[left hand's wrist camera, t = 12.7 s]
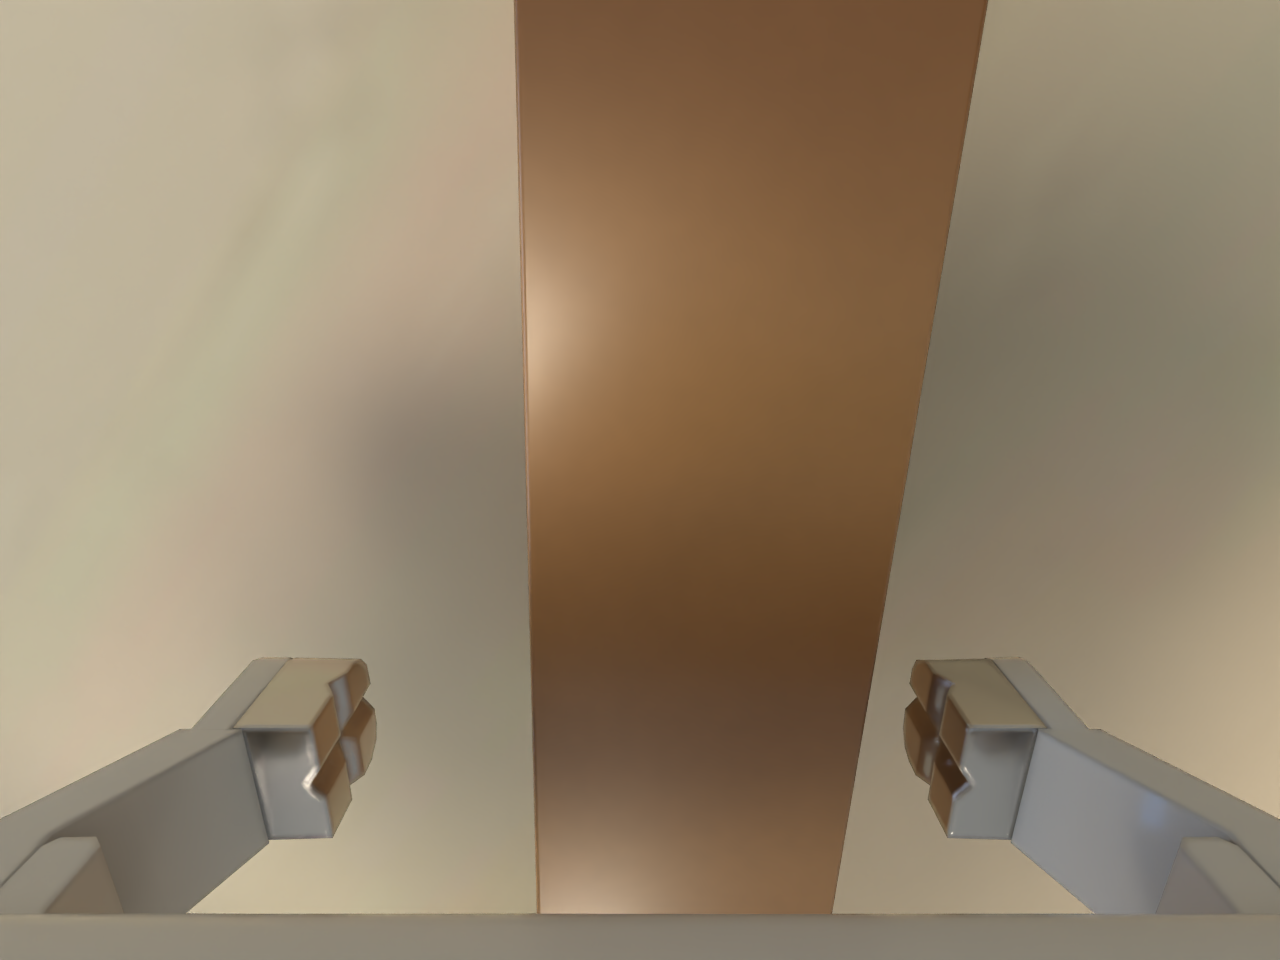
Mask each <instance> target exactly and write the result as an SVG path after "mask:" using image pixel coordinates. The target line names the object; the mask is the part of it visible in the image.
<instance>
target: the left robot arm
mask: <svg viewBox="0 0 1280 960" xmlns="http://www.w3.org/2000/svg"><path fill="white" fill-rule="evenodd" d="M370 684H371V683H370V678H369V673H368V668H367V664H366V663H364V662H363V661H362V660H361V659H338V658H291V657H274V658H259V659H256V660H253V661H252V662H251V663H250V664H249V665H248V666H247V668H246V669H245V670H244V671H243V672H242V673H241V674H240V675H239V676H238V678H237V679H236V680H235V681H234V682H233V683H232V684H231V685H230V686H229V688H228V689H227V690H226V691H225V692H224V693H223V694H222V695H221V696H220V698H219V699H218V700H217V701H216V702H215V703H214V704H213V705H212V706H211V708H210V709H209V710H208V711H207V712H206V713H205V714H204V715H203V716H202V718H201V719H200V720H199V721H198V722H197V723H196V724H195V725H194V726H193V728H192V729H179V730H177V731H175V732H173V733H171V734H169V735H167V736H165V737H163V738H161V739H159V740H157V741H155V742H153V743H151V744H149V745H147V746H145V747H143V748H141V749H139V750H137V751H135V752H133V753H131V754H129V755H127V756H125V757H123V758H121V759H119V760H117V761H115V762H113V763H111V764H109V765H107V766H105V767H103V768H101V769H99V770H97V771H95V772H93V773H91V774H89V775H87V776H85V777H83V778H81V779H79V780H77V781H75V782H73V783H71V784H69V785H67V786H65V787H63V788H61V789H59V790H57V791H55V792H53V793H51V794H49V795H47V796H45V797H43V798H41V799H39V800H37V801H35V802H33V803H31V804H29V805H27V806H25V807H23V808H21V809H19V810H17V811H15V812H13V813H11V814H9V815H7V816H5V817H3V818H1V819H0V960H1280V819H1278V818H1276V817H1274V816H1272V815H1270V814H1268V813H1266V812H1264V811H1262V810H1260V809H1258V808H1256V807H1254V806H1252V805H1250V804H1248V803H1246V802H1244V801H1242V800H1240V799H1238V798H1236V797H1234V796H1232V795H1230V794H1228V793H1226V792H1224V791H1222V790H1220V789H1218V788H1216V787H1214V786H1212V785H1210V784H1208V783H1206V782H1204V781H1202V780H1200V779H1198V778H1196V777H1194V776H1192V775H1190V774H1188V773H1186V772H1184V771H1182V770H1180V769H1178V768H1176V767H1174V766H1172V765H1170V764H1168V763H1166V762H1164V761H1162V760H1160V759H1158V758H1156V757H1155V756H1153V755H1151V754H1149V753H1147V752H1145V751H1143V750H1141V749H1139V748H1137V747H1135V746H1133V745H1131V744H1129V743H1127V742H1125V741H1123V740H1121V739H1119V738H1117V737H1115V736H1113V735H1111V734H1109V733H1107V732H1105V731H1103V730H1101V729H1088V728H1087V726H1086V725H1085V724H1084V723H1083V722H1082V721H1081V720H1080V719H1079V718H1078V716H1077V715H1076V714H1075V713H1074V712H1073V711H1072V710H1071V709H1070V708H1069V706H1068V705H1067V704H1066V703H1065V702H1064V701H1063V700H1062V699H1061V698H1060V696H1059V695H1058V694H1057V693H1056V692H1055V691H1054V690H1053V689H1052V688H1051V686H1050V685H1049V684H1048V683H1047V682H1046V681H1045V680H1044V679H1043V678H1042V676H1041V675H1040V674H1039V673H1038V672H1037V671H1036V670H1035V669H1034V668H1033V666H1032V665H1031V664H1030V663H1029V662H1028V661H1026V660H1024V659H1022V658H1020V657H1004V658H985V659H942V660H916V662H915V664H914V666H913V668H912V672H911V678H910V683H909V684H910V685H911V687H912V689H913V691H914V692H915V694H916V696H917V697H916V698H915V700H914V701H913V702H912V703H911V704H910V705H909V706H908V707H907V708H906V709H905V716H904V725H903V732H904V743H905V749H906V753H907V756H908V759H909V762H910V764H911V766H912V768H913V771H914V773H915V775H916V776H918V777H919V778H921V779H922V780H923V781H925V782H926V783H928V784H929V785H930V789H929V795H928V801H929V803H930V805H931V807H932V808H933V810H934V812H935V814H936V816H937V818H938V820H939V822H940V824H941V826H942V828H943V830H944V832H945V834H946V836H947V838H969V839H1004V840H1011V843H1012V844H1013V845H1014V846H1015V847H1017V848H1018V849H1019V850H1020V851H1021V852H1022V853H1024V854H1025V855H1026V856H1027V857H1028V858H1030V859H1031V860H1032V861H1033V862H1034V863H1036V864H1037V865H1038V866H1039V867H1040V868H1041V869H1043V870H1044V871H1045V872H1046V873H1047V874H1049V875H1050V876H1051V877H1052V878H1053V879H1054V880H1056V881H1057V882H1058V883H1059V884H1060V885H1062V886H1063V887H1064V888H1065V889H1066V890H1068V891H1069V892H1070V893H1071V894H1072V895H1073V896H1075V897H1076V898H1077V899H1078V900H1079V901H1081V902H1082V903H1083V904H1084V905H1085V906H1087V907H1088V908H1089V909H1090V910H1091V911H1092V912H1094V913H1095V914H185V913H187V912H188V911H189V910H190V909H191V908H192V907H194V906H195V905H196V904H197V903H198V902H200V901H201V900H202V899H203V898H204V897H206V896H207V895H208V894H209V893H210V892H211V891H213V890H214V889H215V888H216V887H217V886H219V885H220V884H221V883H222V882H223V881H225V880H226V879H227V878H228V877H229V876H230V875H232V874H233V873H234V872H235V871H236V870H238V869H239V868H240V867H241V866H242V865H244V864H245V863H246V862H247V861H248V860H250V859H251V858H252V857H253V856H254V855H255V854H257V853H258V852H259V851H260V850H261V849H263V848H264V847H265V846H266V845H267V844H269V840H276V839H310V838H333V836H334V834H335V832H336V830H337V828H338V826H339V824H340V822H341V820H342V818H343V816H344V814H345V812H346V810H347V808H348V806H349V805H350V803H351V801H352V795H351V789H350V785H351V784H352V783H354V782H355V781H357V780H358V779H359V778H361V777H362V776H364V775H365V773H366V770H367V768H368V766H369V764H370V762H371V760H372V756H373V752H374V747H375V743H376V729H377V722H376V715H375V709H374V708H373V707H372V706H371V705H370V704H369V703H368V702H367V701H366V700H365V699H364V697H363V696H364V694H365V692H366V691H367V689H368V687H369V685H370Z"/></svg>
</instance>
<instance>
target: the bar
mask: <svg viewBox="0 0 1280 960" xmlns="http://www.w3.org/2000/svg"><path fill="white" fill-rule="evenodd" d="M987 4H988V0H514V24H515V63H516V103H517V143H518V183H519V223H520V263H521V303H522V342H523V382H524V422H525V462H526V502H527V542H528V582H529V621H530V661H531V701H532V741H533V781H534V821H535V861H536V900H537V914H832V910H833V904H834V898H835V892H836V886H837V880H838V874H839V869H840V863H841V857H842V851H843V845H844V839H845V834H846V828H847V822H848V816H849V810H850V804H851V799H852V793H853V787H854V781H855V775H856V769H857V763H858V758H859V752H860V746H861V740H862V734H863V728H864V723H865V717H866V711H867V705H868V699H869V693H870V688H871V682H872V676H873V670H874V664H875V658H876V652H877V647H878V641H879V635H880V629H881V623H882V617H883V612H884V606H885V600H886V594H887V588H888V582H889V577H890V571H891V565H892V559H893V553H894V547H895V541H896V536H897V530H898V524H899V518H900V512H901V506H902V501H903V495H904V489H905V483H906V477H907V471H908V466H909V460H910V454H911V448H912V442H913V436H914V430H915V425H916V419H917V413H918V407H919V401H920V395H921V390H922V384H923V378H924V372H925V366H926V360H927V355H928V349H929V343H930V337H931V331H932V325H933V319H934V314H935V308H936V302H937V296H938V290H939V284H940V279H941V273H942V267H943V261H944V255H945V249H946V244H947V238H948V232H949V226H950V220H951V214H952V208H953V203H954V197H955V191H956V185H957V179H958V173H959V168H960V162H961V156H962V150H963V144H964V138H965V133H966V127H967V121H968V115H969V109H970V103H971V97H972V92H973V86H974V80H975V74H976V68H977V62H978V57H979V51H980V45H981V39H982V33H983V27H984V22H985V16H986V10H987Z"/></svg>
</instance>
